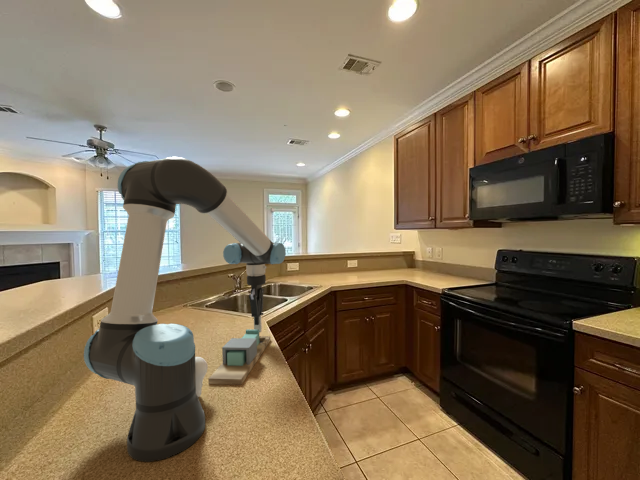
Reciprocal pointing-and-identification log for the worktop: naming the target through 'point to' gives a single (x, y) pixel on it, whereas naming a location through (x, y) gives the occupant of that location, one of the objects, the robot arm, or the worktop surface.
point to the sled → (240, 355)
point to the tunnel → (241, 348)
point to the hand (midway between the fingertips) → (257, 331)
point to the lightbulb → (200, 373)
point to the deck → (237, 368)
